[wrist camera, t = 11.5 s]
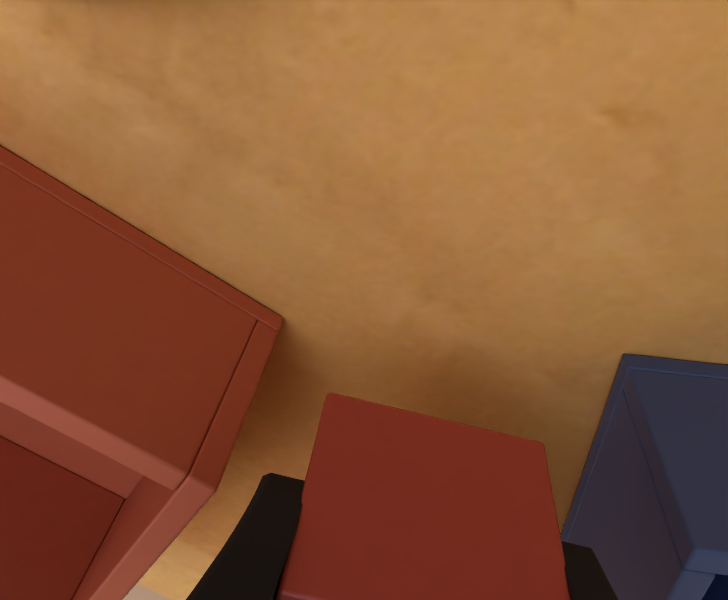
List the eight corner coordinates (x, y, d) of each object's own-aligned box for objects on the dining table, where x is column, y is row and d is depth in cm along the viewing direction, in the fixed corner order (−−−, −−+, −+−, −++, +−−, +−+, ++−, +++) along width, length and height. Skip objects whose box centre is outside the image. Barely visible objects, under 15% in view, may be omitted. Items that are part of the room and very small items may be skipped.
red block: (545, 441, 12) (586, 663, 8) (478, 575, 14) (488, 796, 10) (327, 389, 12) (277, 591, 8) (294, 532, 14) (243, 739, 10)
